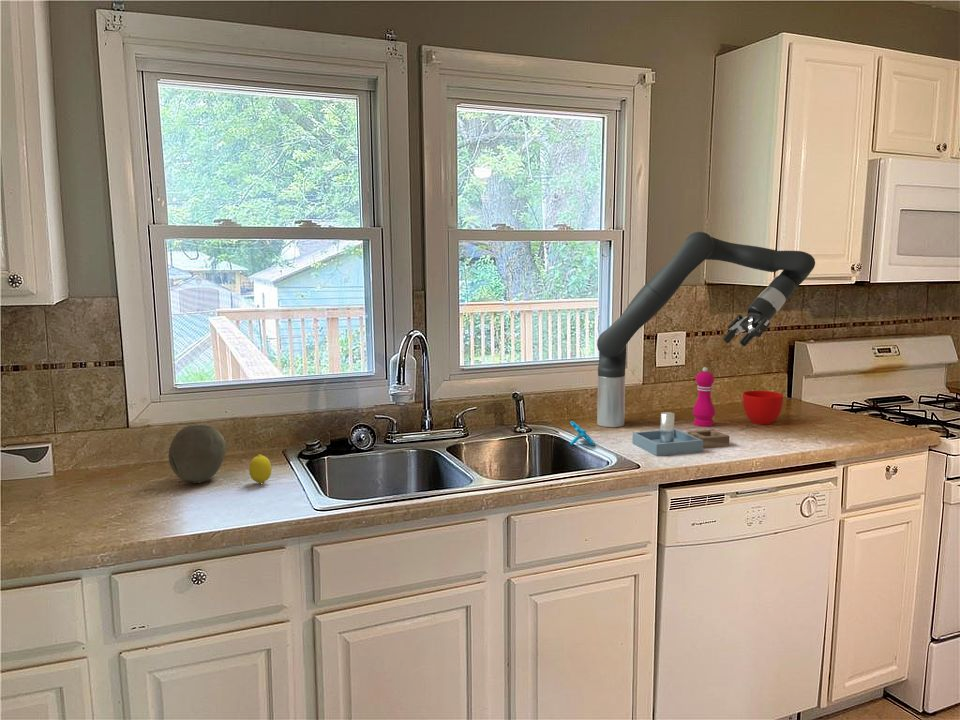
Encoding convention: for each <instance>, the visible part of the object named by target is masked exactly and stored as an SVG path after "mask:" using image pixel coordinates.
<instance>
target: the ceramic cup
mask: <svg viewBox="0 0 960 720" xmlns="http://www.w3.org/2000/svg"><path fill="white" fill-rule="evenodd" d="M783 403H784V395H783V394H782V393H781V392H776V391H770V390H748V391H743V393H742V405H743V409H744V413H745V415H746V416H747V418H748V419H749V421H751V423H753V424H756V425H763V424H764V425H766V426H767V425H771V424H772V423H774V421H775V420H776V419H777V418H778V417H779V415H780V413H781V411H782V409H783ZM764 425H763V426H764Z"/></svg>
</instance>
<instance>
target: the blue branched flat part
mask: <svg viewBox="0 0 960 720" xmlns="http://www.w3.org/2000/svg"><path fill="white" fill-rule="evenodd" d="M569 423H570V424H571V427H573V428H574V429H575V431H576V432H577V433H576V436H575V437H574V438H573V439H572V441H570V442H569V443H570V445H572V446H573V445H575V443H576V442H577V441H578V440H581V439H582V438H583V439H584V440H585V441H586V442H587V443H589V444H590V445H591V446H594V445H595V444H596V443H595V442H594V440H593V439H592V438H591V436H589V435H588V434H587V433H586V432H587V431H586V430H585V429H583V427H580V425H579V424H577V423H576V421H573V420H571V421H570V422H569Z"/></svg>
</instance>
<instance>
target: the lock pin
mask: <svg viewBox="0 0 960 720" xmlns="http://www.w3.org/2000/svg"><path fill="white" fill-rule="evenodd" d="M659 428H660V429H659V430H660V443H670V442H674V429H675V413H674V412H670V411H669V412H668V411H667V412H666V411H665V412H664V411H663V412H660V427H659Z"/></svg>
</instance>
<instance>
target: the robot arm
mask: <svg viewBox="0 0 960 720" xmlns="http://www.w3.org/2000/svg"><path fill="white" fill-rule="evenodd" d="M707 260H709V261H710V260H711V261H720V262H725V263H726V262H727V263H731V264H735V265H739V266H742V267H745V268H750V269H753V270H757V271H758V270H759V271H764V272H766V273H767V272H768V273H769V272H770V273H777V272H778V271H781V272H780V274H779V275H777V276H776V277H775V278H774V279H773V280H772V281H771V282H770V283H769V284H768V285H767V286H766V288H765V289H764V290H762V291H761V292H760V293H759V294H758V296H757V297H756V298H755V299H754V300H753V301H752V302H751V303H750V304H749V306H748V307H747V314H746V315H744V316H742V314H738V315H737V316H735V318H734V319H733V320H732V321H731V322H730V324H729V325H728V326H727V329H728V330H729V331H728V332H727V333H726V334H725V335H724V337H723V338H722V340H723V341H724V343H726V344H730V342H731V341H732V340H733V338H735V337H736V335H738V334H739V333H743V332H746V331H747V332H746V333H745V334H744V335H743V337H742V338H741V339H740V340H739V344H740V345H741V346H742V347H746V346H747V345H748V344H749V343H750V342H751V341H752V339H755V338H756V337H757V338H761V336H762V335H763V334H764V333H765V331H767V329H768V328H769V326H770V325H772V324H771V322H770V321H771V320H772V319H773V317H775V315H776V314H777V313H778V312H779V311H780V310H781V308H782V307H783V306H784V304H785V302H786V301H787V300H789V298H790V297H791V295H792V294H794V292H795V290H796V289H797V288H798V287H799V286H800V285H801V284H802V283H803V282H804V281H805V280H806V279H807V278H808V276H809V275H810V274H811V273H812V271H813V270H814V268H815V265H816V259H815V258H814V256H813V255H812V254H810V253H808V252H805V251H801V250H777V249H772V248H768V247H761V246H757V245H748V244H741V243H734V242H728V241H725V240H723V239H720V238H719V239H718V238H716V237H714V236H711V235H710V234H709V233H707V232H704V231H695V232H692V233H691V234H690V235H688V236H687V237H686V239H685V240H684V242H683V244H682V246H681V247H680V248H679V250H678V251H677V252H676V254H675V255H674V256H673V257H672V259H671V260H669V262H668V263H667V264H665V266H664V267H662V268H661V269H659V271H658V272H657V273H655V274H654V275H653V276H652V277H651V278H650V279H648V281H647V282H646V283H645V284H644V285H643V287H642V288H641V289H639V291H638V292H637V294H636V295H635V296H634V297H633V298H632V300H631V301H630V302H629V303H628V305H627V307H626V308H625V310H624V311H623V313H622V314H621V315H620V316H619V317H618V319H616V320H615V322H614V323H611V325H610V326H609V327H608V328H606V330H604V331H602V333H601V334H600V335H599V336H598V338H597V340H596V342H597V343H596V347H597V350H598V354H599V355H598V366H597V398H596V399H597V402H596V403H597V406H596V407H597V408H596V410H597V413H596V414H597V416H596V417H597V418H596V419H597V420H596V424H597V425H598V426H600V427H605V428H606V427H607V428H618V427H623V426H625V413H626V412H625V409H626V408H625V407H626V401H625V400H626V399H625V396H626V366H627V344H628V343H629V342H630V340H631V339H632V338H633V336H634V335H635V334H636V333H637V332H638V330H640V329H641V327H643V326H644V325H645V324H646V323H648V322H649V321H650V320H651V319H652V318H653V317H654V316H656V315H657V314H658V313H659V311H661V310H662V309H663V307H664V306H665V305H666V304H668V302H669V301H670V299H671V298H672V297H673V296H674V295H675V294H676V293H677V291H678V290H679V288H680V287H681V285H682V284H683V282H684V281H685V280H686V279H687V277H688V276H690V274H691V273H692V272H693V271H694V270H696V268H698V266H700V265H701V264H702V263H703V262H704V261H707Z"/></svg>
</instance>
